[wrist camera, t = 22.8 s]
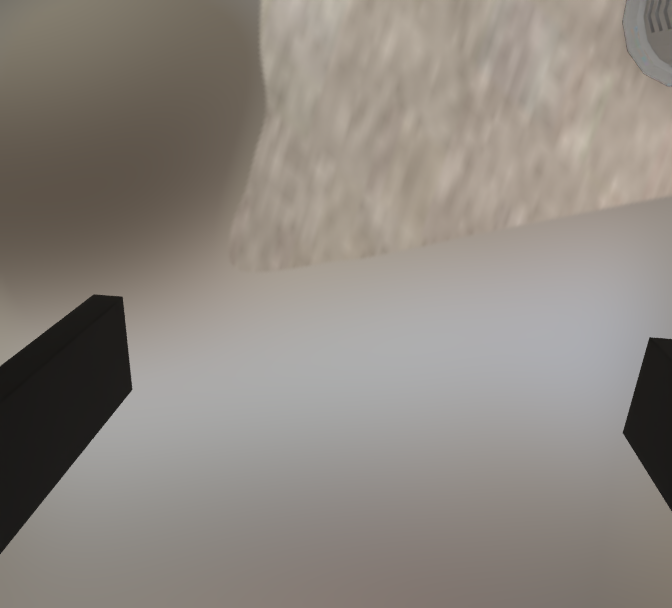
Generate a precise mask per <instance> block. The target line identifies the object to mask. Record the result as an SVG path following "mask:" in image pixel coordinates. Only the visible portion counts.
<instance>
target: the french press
mask: <svg viewBox="0 0 672 608" xmlns="http://www.w3.org/2000/svg"><path fill="white" fill-rule="evenodd" d="M623 26H624V32H625V38H626V43H627V49H628V52H629V53H630V55H631V56H632V58H633V59H634V60H635V62H636V63H637V65H638V66H639V68H640V69H641V70H642V72H643V73H644V74H646V75H647V76H649V77H651V78H653V79H655V80H657V81H659V82H661V83H662V84H664V85H666V86H671V87H672V0H627V3H626V8H625V13H624V17H623Z"/></svg>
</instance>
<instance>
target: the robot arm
mask: <svg viewBox="0 0 672 608" xmlns="http://www.w3.org/2000/svg"><path fill="white" fill-rule="evenodd" d="M126 335H127V334H126V325H125V315H124V306H123V297H119V296H105V295H93V296H91V297H90V298H89V299H87V300H86V301H85V302H84V303H82V304H81V305H80V306H78V307H77V308H76V309H74V310H73V311H72V312H70V313H69V314H68V315H66V316H65V317H64V318H63V319H62V320H60V321H59V322H57V323H56V324H55V325H53V326H52V327H51V328H49V329H48V330H47V331H46V332H44V333H43V334H42V335H40V336H39V337H38V338H37V339H35V340H34V341H32V342H31V343H30V344H29V345H27V346H26V347H25V348H23V349H22V350H21V351H20V352H18V353H17V354H16V355H14V356H13V357H12V358H10V359H9V360H8V361H6V362H5V363H4V364H3V365H1V366H0V554H1V552H2V551H3V550H4V549H5V548H6V546H7V545H8V544H9V542H10V541H11V540H12V539H13V537H14V536H15V535H16V534H17V533H18V531H19V530H20V529H21V528H22V526H23V525H24V524H25V523H26V521H27V520H28V519H29V518H30V516H31V515H32V514H33V513H34V511H35V510H36V509H37V508H38V506H39V505H40V504H41V503H42V501H43V500H44V499H45V498H46V496H47V495H48V494H49V493H50V491H51V490H52V489H53V488H54V487H55V485H56V484H57V483H58V482H59V480H60V479H61V478H62V477H63V475H64V474H65V473H66V471H67V470H68V469H69V467H71V465H72V464H73V463H74V462H75V460H76V459H77V458H78V457H79V455H80V454H81V453H82V451H83V450H84V449H85V448H86V447H87V445H88V444H89V443H90V442H91V440H92V439H93V438H94V437H95V435H96V434H97V433H98V432H99V430H100V429H101V428H102V427H103V425H104V424H105V423H106V422H107V421H108V419H109V418H110V417H111V416H112V414H113V413H114V412H115V411H116V409H117V408H118V407H119V406H120V404H121V403H122V402H123V400H124V399H125V398H126V397H127V396H128V394H129V393H130V392H131V390H132V382H131V373H130V363H129V354H128V345H127V336H126ZM623 434H624V435H625V437H626V439H627V440H628V442H629V444H630V445H631V447H632V448H633V450H634V452H635V453H636V455H637V456H638V458H639V460H640V461H641V462H642V464H643V466H644V468H645V469H646V471H647V472H648V474H649V476H650V477H651V479H652V480H653V482H654V483H655V485H656V487H657V488H658V490H659V492H660V493H661V495H662V496H663V498H664V500H665V501H666V503H667V504H668V506H669V508H670V509H671V511H672V339H663V338H651V337H650V338H649V341H648V345H647V348H646V352H645V355H644V359H643V363H642V366H641V370H640V373H639V377H638V380H637V384H636V387H635V391H634V395H633V398H632V402H631V406H630V409H629V413H628V416H627V420H626V423H625V427H624V430H623Z"/></svg>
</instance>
